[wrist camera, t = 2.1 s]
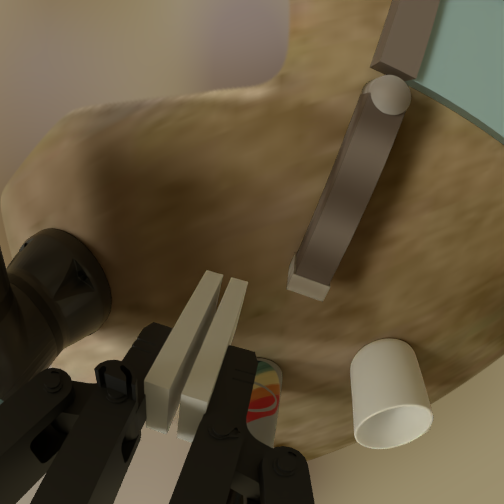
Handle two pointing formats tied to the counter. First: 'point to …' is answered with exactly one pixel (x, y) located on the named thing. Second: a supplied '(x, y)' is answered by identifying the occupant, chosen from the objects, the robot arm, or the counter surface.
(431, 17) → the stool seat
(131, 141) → the counter surface
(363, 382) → the cup
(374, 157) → the folding leg
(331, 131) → the counter surface
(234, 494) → the lotion bottle
